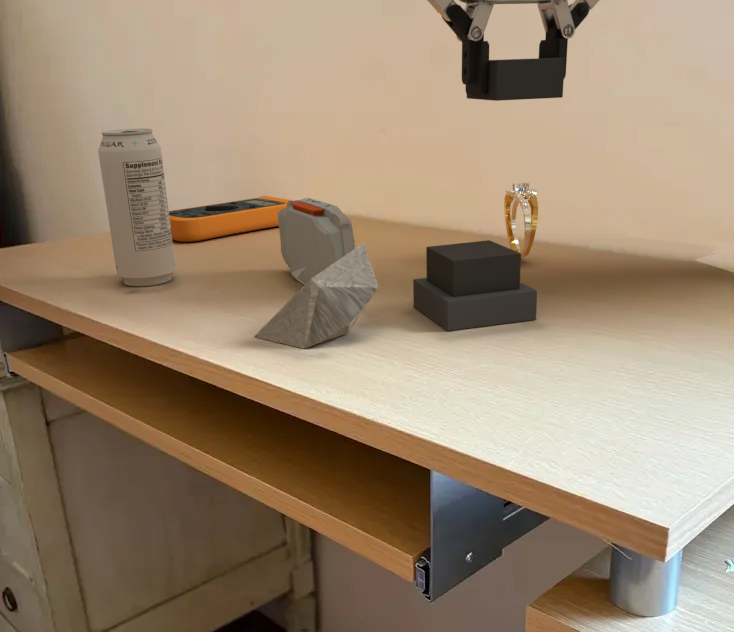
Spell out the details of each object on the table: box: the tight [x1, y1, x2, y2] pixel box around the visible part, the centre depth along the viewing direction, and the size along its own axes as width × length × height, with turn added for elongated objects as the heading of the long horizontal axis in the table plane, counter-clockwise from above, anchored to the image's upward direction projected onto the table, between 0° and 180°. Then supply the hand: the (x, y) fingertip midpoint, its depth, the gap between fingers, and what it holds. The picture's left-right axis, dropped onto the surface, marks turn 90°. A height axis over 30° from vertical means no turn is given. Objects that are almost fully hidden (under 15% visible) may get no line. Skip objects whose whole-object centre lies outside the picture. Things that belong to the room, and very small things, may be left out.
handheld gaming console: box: [277, 197, 356, 284], centre depth 82 cm, size 14×3×8 cm, turn 27°
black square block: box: [425, 239, 522, 297], centre depth 70 cm, size 6×6×3 cm
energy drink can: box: [97, 128, 177, 287], centre depth 84 cm, size 6×6×15 cm
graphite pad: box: [466, 57, 565, 102], centre depth 69 cm, size 6×6×3 cm
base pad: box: [412, 277, 538, 332], centre depth 71 cm, size 8×8×2 cm
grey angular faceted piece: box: [253, 242, 380, 349], centre depth 67 cm, size 12×6×9 cm
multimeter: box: [169, 195, 293, 243], centre depth 111 cm, size 9×18×3 cm, turn 130°
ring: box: [503, 182, 539, 260], centre depth 89 cm, size 7×3×8 cm, turn 5°
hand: (513, 90), depth 69 cm, fingers closed on graphite pad, 6 cm apart
